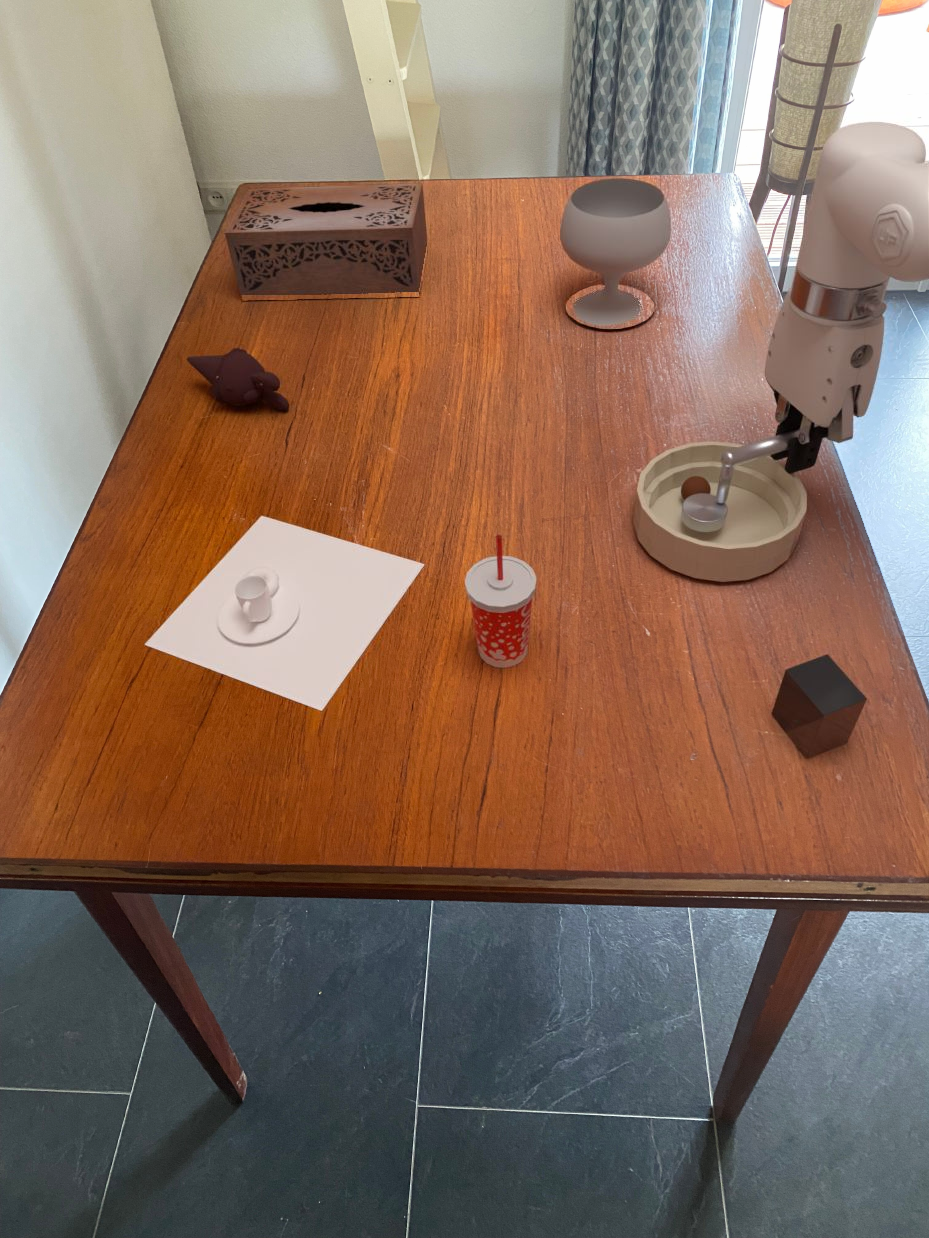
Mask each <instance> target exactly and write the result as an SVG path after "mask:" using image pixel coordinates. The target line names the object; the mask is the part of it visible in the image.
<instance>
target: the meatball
mask: <svg viewBox="0 0 929 1238" xmlns="http://www.w3.org/2000/svg"><path fill="white" fill-rule="evenodd" d="M699 493H706V494H710V493H711V488H710V484H709V483H708V481H707V480H706V479H704V478H703V477H700V476H693V477H690V478H688V479H687V480H685V482H684V483H683V485H682V487H681V495H682V498H683V499H684V501H685V499H686V498H688V497H689V496H691V495H694V494H699Z"/></svg>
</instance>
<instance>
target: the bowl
mask: <svg viewBox="0 0 929 1238" xmlns="http://www.w3.org/2000/svg"><path fill="white" fill-rule="evenodd" d="M741 446H745V445H744V444H740V443H735V442H734V443H733V442H726V441H725V442H724V441H715V440H711V441H699V442H689V443H685V444H683V445H679V446H675V447H673V448H670V449H666V450H665V451H663V452H661V453H660V454H659V455H657V456H655V457H653V458H652V459H651V460H649V462H648V463H647V465H646V466H644V468H643V470H642V471H641V472H640V474H639V478H638V481H637V487H636V494H635V503H634V511H633V521H632V524H633V527H634V530H635V534H636V538H637V541H638V542H639V543H640V544H641V545H642V547H643V549H645V551H646V552H647V553H648V555H649V556H650V557H652V558H653V559H655V560H656V561H658V562H659V563H660V564H662V565H663V566H664V567H667V568H668V569H669V570H672V571H674V572H677V573H680V574H682V575H685V576H688V577H691V578H693V579H699V580H707V581H713V582H719V583H720V582H721V583H725V582H736V581H737V582H738V581H748V580H751V579H755V578H759V577H760V576H763V575H767V574H770V573H772V572H773V571H774V570H776V569H778V567H780V566H781V565H783V564H784V563H785V562H786V561H788V560H789V559H790V557H791V555H792V554H793V551H794V549H795V548H796V546H797V545H798V541H799V537H800V534H801V531H802V528H803V524H804V521H805V517H806V514H807V511H808V493H807V491H806V489H805V487H804V484H803V483H802V479H800V477H799V475H798V474H796V472H795V473H792V474H788V473H787V472H786V471H785V464H786V462H784V461H782V460H781V459H780V460H774V459H773V458H771V455H769V456H766V457H762V458H759V459H756V460H753V461H749V462H746V463H743V464H740V465H737V466H734V469H733V474H732V479H731V483H730V488H729V493H728V498H727V501H726V502H725V503H726V505H727V509H728V511H727V516H726V521H725V523H724V525H723V526H722V527H721V528H720V529H718V530H716V531H712V532H699V531H695V530H692V529H690V528H689V527H687V526H686V525H685V524H684V523H683V521H682V519H681V511H682V505H683V502H684V499H683V498H682V495H681V487H682V485H683V483H684V482H685V480H687V479H688V478H690V477H693V476H700V477H703V478H704V479H706V480H707V481H708V483H709V484H710V488H711V493H710V494H712V495H715V496H716V495H717V490H718V484H719V479H720V474H721V469H722V462H721V456H722V454H723V453H724V452H726V451H728V450H732V449H735V448H738V447H741Z"/></svg>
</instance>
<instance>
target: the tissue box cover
mask: <svg viewBox="0 0 929 1238" xmlns="http://www.w3.org/2000/svg"><path fill="white" fill-rule="evenodd" d="M232 216H233V217H232V218H231V220H230V222H229V224H228V226H227V228H226V230H225V231H224V235H225V236H224V237H225V240H226V244H227V248H228V251H229V255H230V259H231V264H232V268H233V272H234V275H235V280H236V283H237V287H238V291H239V295H240V296H241V295H322V294H323V295H327V294H329V295H331V294H362V293H363V294H366V293H367V294H368V293H389V292H390V293H395V292H400V293H401V292H419V288H420V282H421V276H422V270H423V264H424V258H425V253H426V247H427V241H428V232H427V219H426V208H425V198H424V187H423V182H413V183H412V182H407V183H406V182H404V183H374V184H373V183H372V184H346V185H345V184H344V185H342V184H341V185H339V184H338V185H311V186H280V187H279V186H278V187H277V186H276V187H250V188H247V190H246V191H245V194H244V195H243V197H242V199H241V201H240V203H239V205H238V206H237V209H236V210H235V213H234V214H233V215H232Z"/></svg>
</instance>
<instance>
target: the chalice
mask: <svg viewBox="0 0 929 1238" xmlns="http://www.w3.org/2000/svg"><path fill="white" fill-rule="evenodd" d="M562 213H563V214H562V218H561V222H560V228H559V240H560V243H561V246H562V249H563V251H564V253H565V254H566V256H568V258H569V259H570V260H571V261H573V262H574V263H575V264H576V265H578V266H580V267H582V268H584V269H586V270H589V271H590V272H591V271H592V272H594V273H597V274H599V276H601V277H602V280H603V282H604V283H603V284H605V287H604V289H602V290H597V291H595V292H594V291H593V292H594V293H593V292H592V293H589V294H587V295H585V296H583V297H580V299H579V298H578V299H579V300H577V299H576V300H577V301H576V302H575V301H574V302H575V303H573V304H574V306H573V308H574V310H575V311H574V310H573V312H575V313H574V314H577V315H575V316H577V317H579V318H578V320H582V321H585V322H587V323H590V324H594V325H596V326H597V325H598V326H599V327H600V326H604V327H605V326H607V325H608V326H611V325H613V324H616V325H618V324H621V323H623V322H625V323H627V322H626V321H628V322H630V321H629V320H632V319H636V317H637V316H640V315H641V314H640V315H638V314H639V312H640V311H641V310H640V307H642V306H640V305H641V304H640V302H639V301H638V300H639V299H640V298H639V299H638V298H635V297H636V296H635V297H634V295H632V294H631V293H628V292H625V291H621V290H619V289H618V284H620V281H621V279H622V278H623V277H624V276H625V275H626V274H629V273H633V272H635V271H639V270H642V269H644V268H646V267H648V266H649V265H651V264H653V263H654V262H655V261H657V260H658V259H659V258H660V257H661V256H662V255H663V254H664V252H665V251H666V250H667V247H668V245H669V243H670V241H671V234H672V223H671V221H672V220H671V211H670V207H669V203H668V201H667V198H666V196H665V194H664V192H663V191H662V190H661V189H660V188H659V187H657V186H656V185H654V184H652V183H649V182H647V181H644V180H639V179H634V178H624V177H623V178H621V177H619V178H617V177H615V178H613V177H612V178H603V179H597V180H593V181H590V182H588V183H585V184H582V185H580V186H579V187H577V188H576V189H574V190H573V192H572V194H571V195H570V196H569V198H568V200H567V202H566V205H565V207H564V209H563V212H562ZM575 304H576V305H575ZM639 304H640V305H639ZM637 309H638V310H637ZM640 313H641V312H640ZM634 316H636V317H634ZM576 319H577V318H576ZM582 321H581V322H582ZM583 323H584V322H583ZM623 324H624V323H623ZM613 326H615V325H613Z"/></svg>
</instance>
